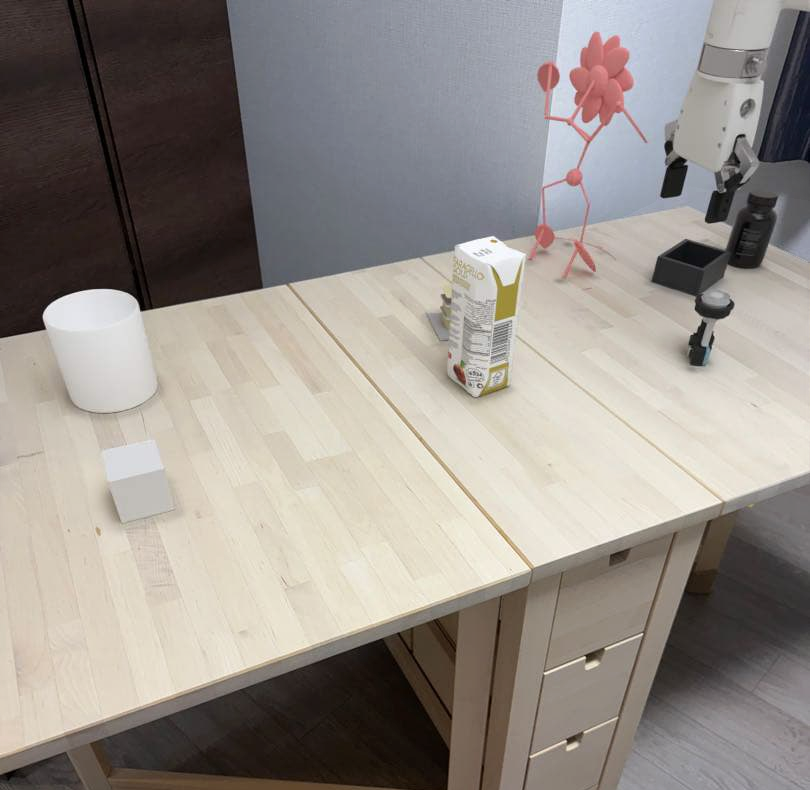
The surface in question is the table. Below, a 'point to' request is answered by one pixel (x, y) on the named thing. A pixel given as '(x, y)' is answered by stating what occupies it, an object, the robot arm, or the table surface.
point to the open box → (690, 267)
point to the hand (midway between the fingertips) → (691, 208)
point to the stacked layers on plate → (443, 315)
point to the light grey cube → (137, 480)
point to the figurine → (588, 113)
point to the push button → (708, 323)
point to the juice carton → (484, 314)
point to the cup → (101, 349)
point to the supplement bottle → (752, 229)
